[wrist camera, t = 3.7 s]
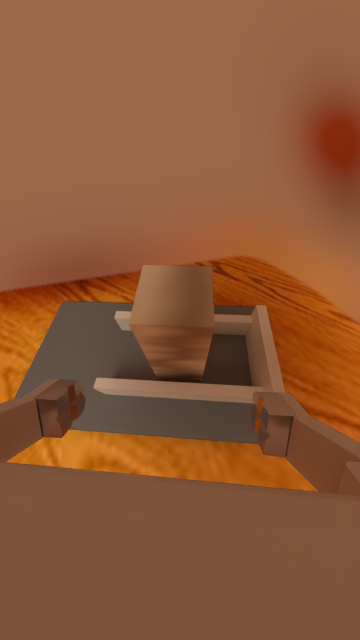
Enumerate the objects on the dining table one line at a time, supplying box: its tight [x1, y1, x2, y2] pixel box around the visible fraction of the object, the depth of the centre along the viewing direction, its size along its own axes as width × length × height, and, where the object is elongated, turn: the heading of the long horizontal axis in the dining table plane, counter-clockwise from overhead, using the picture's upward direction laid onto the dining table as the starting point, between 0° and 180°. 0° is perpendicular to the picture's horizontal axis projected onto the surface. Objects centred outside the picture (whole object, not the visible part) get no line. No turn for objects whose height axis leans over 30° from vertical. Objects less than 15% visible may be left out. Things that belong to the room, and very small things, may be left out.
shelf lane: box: [14, 301, 285, 444], centre depth 21 cm, size 28×16×6 cm, turn 86°
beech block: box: [129, 265, 215, 381], centre depth 17 cm, size 5×5×12 cm
